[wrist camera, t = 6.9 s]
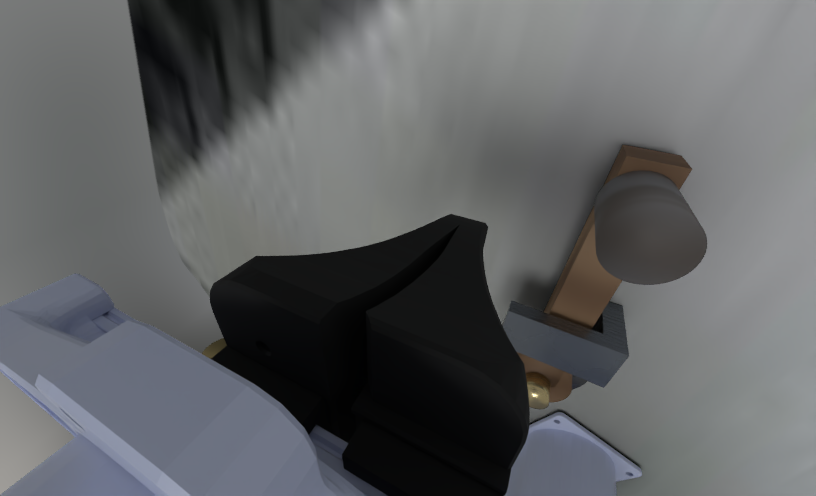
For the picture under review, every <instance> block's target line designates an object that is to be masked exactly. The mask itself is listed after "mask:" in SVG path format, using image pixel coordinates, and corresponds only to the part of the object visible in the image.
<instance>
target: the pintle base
mask: <svg viewBox="0 0 816 496" xmlns="http://www.w3.org/2000/svg"><path fill="white" fill-rule="evenodd" d="M526 379H527V387H528V396H529V407H532V408H535V409H545V408H547V407H548V405H549V396H550V387H551V383H550V381H549V380H548V379H547V378H546V377H545V376H543V375H541V374H539V373H533V372H531V373H527V374H526ZM586 382H587V380H584V379H582V378H579V377H577V376H574V375H572V389H575V388H577V387H580V386H582V385H583V384H585V383H586Z"/></svg>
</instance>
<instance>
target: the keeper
mask: <svg viewBox="0 0 816 496" xmlns="http://www.w3.org/2000/svg"><path fill="white" fill-rule="evenodd" d="M502 326H503V328H504V330H505V332H506V334H507V336H508V338H509V340H510V342H511V343H512V345H513V347H514V348H515V350H516V352H518V353H521V354H523V355H526V356H528V357H531V358H533V359H536V360H538V361H540V362H543V363H545V364H548V365H550V366H553V367H555V368H557V369H560V370H562V371H565V372H567V373H570V374H572V375H574V376H577V377H579V378H582V379H584V380H587V381H589V382H591V383H594V384H596V385H599V386H601V387H605V386H606V384H607V383H608V382H609V381H610V379H611V378H612V377H613V376H614V374H615V373H616V372H617V371H618V369H619V368H620V367H621V366H622V364H623V363H624V362H625V360H626V359H627V358H628V357H629V353H628V345H627V337H626V330H625V322H624V314H623V306H621V305H618V304H615V303H612V302H608V304H607V305H606V307H605V309H604V310H603V312H602V313H601V315H600V317H599V318H598V320H597V321H596V323H595V325H594V326H593V328H592V329H589V328H586V327H583V326H580V325H578V324H575V323H572V322H569V321H567V320H564V319H561V318H558V317H556V316H553V315H550V314H547V313H545V312H542V311H539V310H536V309H534V308H531V307H528V306H525V305H523V304H520V303H517V302H514V301H511V304H510V306H509V309H508V312H507V314H506V317H505V320H504V322H503V325H502Z"/></svg>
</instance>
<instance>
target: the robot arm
mask: <svg viewBox="0 0 816 496" xmlns="http://www.w3.org/2000/svg"><path fill="white" fill-rule="evenodd" d="M487 230H488V226H487V225H486V223H483V222H479V221H475V220H472V219H468V218H464V217H460V216H456V215H453V214H450V215H447V216H445V217H443V218H440V219H438V220H436V221H434V222H432V223H429V224H427V225H425V226H423V227H420V228H418V229H416V230H413V231H411V232H408V233H406V234H403V235H400V236H398V237H395V238H392V239H389V240H386V241H383V242H379V243H376V244H372V245H368V246H364V247H359V248H354V249H348V250H343V251H337V252H330V253H322V254H311V255H297V256H255V257H254V258H252V259H251V260H249V261H248V262H246V263H245V264H243V265H241V266H240V267H238V268H237V269H235V270H234V271H232V272H231V273H229V274H228V275H226V276H225V277H223V278H221V279H220V280H218V281H217V282H215V283H214V284H213V286H212V288H211V290H210V303H211V307H212V310H213V313H214V315H215V318H216V320H217V323H218V325H219V327H220V330H221V332H222V335H223V337H224V340H225V342H226V344H227V346H226V347H224V348H223V349H222V350H221V351H220V352H218V353H217V354H216V355H215V356H214V357H212V358H211V359H210V358H208V357H206V356H204V355H203V354H201V353H199V352H197V351H196V350H194V349H192V348H190V347H189V346H187V345H185V344H183V343H182V342H180V341H178V340H176V339H175V338H173V337H171V336H170V335H168V334H166V333H164V332H163V331H161V330H159V329H157V328H156V327H154V326H152V325H149V324H146V323H143V322H140V321H137V320H135V319H134V318H132V317H130V316H128V315H126V314H125V313H123V312H121V311H120V310H118V309H116V308H115V307H114V303H113V302H112V300H111V298H110V297H109V295H108V294H107V293H106V291H105V290H104V289H103V288H102V287H101V286H99V285H98V284H97V283H95V282H93V281H91V280H89V279H88V278H86V277H84V276H82V275H80V274H76V273H75V274H72V275H70V276H67V277H65V278H63V279H61V280H59V281H56V282H54V283H52V284H50V285H47V286H45V287H43V288H41V289H38V290H36V291H34V292H32V293H30V294H27V295H25V296H23V297H21V298H18V299H16V300H14V301H12V302H9V303H7V304H5V305H3V306H1V307H0V371H1V372H2V373H3V374H4V375H5V376H6V377H7V378H8V379H9V380H11V381H12V382H13V383H14V384H15V385H16V386H17V387H18V388H20V389H21V390H22V391H23V392H24V393H25V394H27V395H28V396H29V397H30V398H31V399H32V400H33V401H34V402H36V403H37V404H38V405H39V406H40V407H41V408H43V409H44V410H45V411H46V412H47V413H48V414H49V415H51V416H52V417H53V418H54V419H55V420H56V421H57V422H59V423H60V424H61V425H62V426H63V427H64V428H65V429H67V430H68V431H69V432H70V433H71V434H72V435H74V436H75V438H73V439H72V440H71V441H70V442H68V443H67V444H66V445H65V446H63V447H62V448H61V449H59V450H58V451H57V452H55V453H54V454H53V455H51V456H50V457H49V458H47V459H46V460H45V461H44V462H42V463H41V464H40V465H38V466H37V467H36V468H34V469H33V470H32V471H31V472H29V473H28V474H27V475H25V476H24V477H23V478H21V479H20V480H19V481H17V482H16V483H15V484H14V485H12V486H11V487H10V488H8V489H7V490H6V491H4V492H3V493H2V494H1V495H0V496H617V491H616V482H617V481H622V480H627V479H631V478H636V477H640V476H642V470H641V469H640V468H639V467H638V466H637V465H635V464H634V463H633V462H631V461H630V460H628V459H627V458H626V457H624V456H623V455H621V454H620V453H619V452H617V451H616V450H614V449H613V448H612V447H610V446H609V445H608V444H606V443H605V442H603V441H602V440H601V439H599V438H598V437H596V436H595V435H594V434H592V433H591V432H589V431H588V430H587V429H585V428H584V427H583V426H581V425H580V424H578V423H577V422H576V421H574V420H573V419H571V418H570V417H569V416H567V415H566V414H564V413H562V412H557V413H554V414H552V415H550V416H548V417H546V418H544V419H542V420H539V421H537V422H535V423H533V424H531V425H529V396H528V387H527V379H526V373H525V366H524V363H523V361H522V360H521V358H520V357H519V355H518V353H517V352H516V350H515V348H514V347H513V345H512V343H511V342H510V340H509V338H508V336H507V334H506V332H505V330H504V328H503V326H502V324H501V322H500V319H499V317H498V315H497V312H496V310H495V307H494V305H493V302H492V299H491V296H490V293H489V289H488V285H487V281H486V276H485V270H484V262H483V247H484V243H485V239H486V234H487Z"/></svg>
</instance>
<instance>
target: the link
mask: <svg viewBox="0 0 816 496" xmlns="http://www.w3.org/2000/svg"><path fill="white" fill-rule="evenodd" d="M691 170H692V168H691V167H690V166H689V164H688V163H687V162H686V161H685V160H684V158H683V157H682V156H680V155H675V154H670V153H664V152H659V151H654V150H649V149H643V148H638V147H633V146H628V145H622V147H621V150H620V152H619V154H618V156H617V158H616V160H615V162H614V164H613V166H612V169H611V171H610V173H609V175H608V177H607V179H606V181H605V183H604V185H603V187H602V188H601V190H600V191H599V193H598V194H597V197H596V199H595V203H594V206H593V209H592V211H591V213H590V215H589V217H588V219H587V221H586V223H585V225H584V228H583V230H582V232H581V234H580V236H579V238H578V240H577V242H576V244H575V247H574V249H573V251H572V253H571V255H570V257H569V259H568V261H567V263H566V266H565V268H564V270H563V272H562V274H561V276H560V278H559V280H558V282H557V284H556V287H555V289H554V291H553V293H552V295H551V297H550V299H549V301H548V303H547V306H546V308H545V310H544V312H545V313H547V314H550V315H553V316H556V317H558V318H561V319H564V320H567V321H569V322H572V323H575V324H578V325H580V326H583V327H586V328H589V329H592V328H593V326H594V325H595V323H596V321H597V320H598V318H599V317H600V315H601V313H602V312H603V310H604V309H605V307H606V305H607V304H608V302H609V301H610V299H611V298H612V296H613V294H614V293H615V291H616V290H617V288H618V286H619V285H620V283H621V282H622V280H623V281H626V282H629V283H634V284H642V285H654V284H661V283H666V282H670V281H673V280H676V279H678V278H681V277H682V276H684V275H686V274H688V273H689V272H691V271H692V270H693V269H694V268H695V267H696V266H697V265H698V264H699V263H700V262H701V260H702V259H703V257H704V255H705V253H706V249H707V238H706V234H705V232H704V230H703V228H702V227H701V225H700V223H699V222H698V220H697V218H696V217H695V215H694V213H693V212H692V210H691V209H690V207H689V205H688V204H687V202H686V200H685V199H684V197H683V196H682V194H681V192H680V191H679V189H680V188H681V186H682V185H683V183H684V181H685V180H686V178H687V177H688V175H689V173H690V172H691ZM517 353H518V352H517ZM518 355H519V357H520V358H521V360H522V361H523V363H524V366H525V373H526V374H527V373H531V372H533V373H539V374H541V375H543V376H545V377H546V378H547V379H548V380H549V381H550V383H551V387H550V396H549V402H558V401H561V400H564V399H566V398H567V397H568V396H569V395H570V393H571V390H572V374H570V373H567V372H565V371H562V370H560V369H557V368H555V367H553V366H550V365H548V364H545V363H543V362H540V361H538V360H536V359H533V358H531V357H528V356H526V355H523V354H521V353H518Z"/></svg>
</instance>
